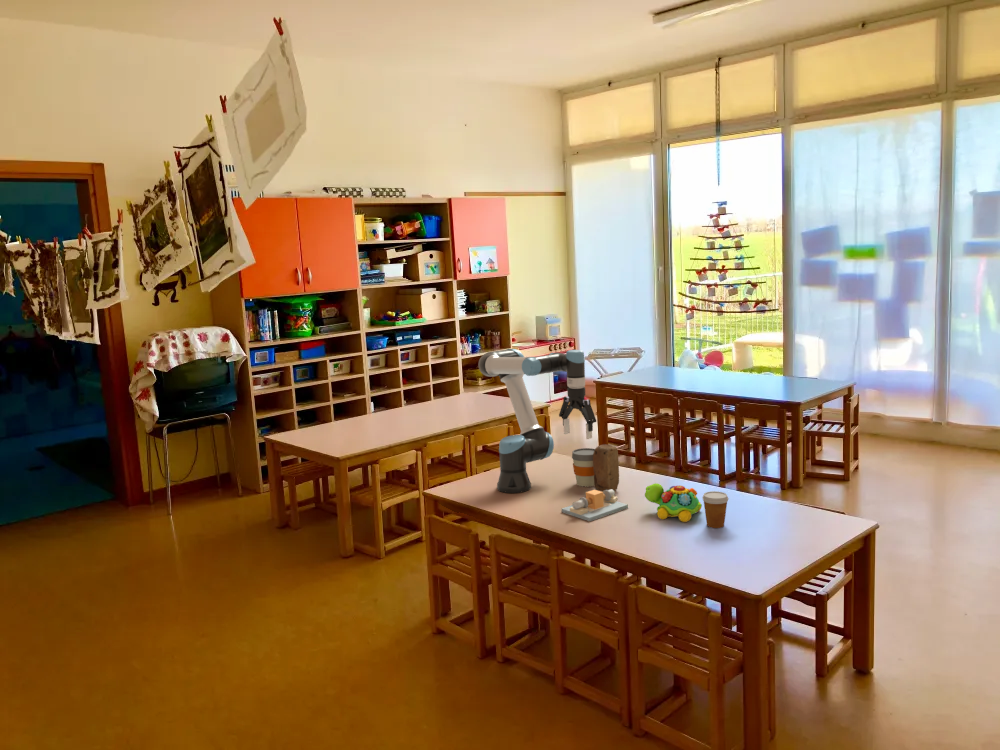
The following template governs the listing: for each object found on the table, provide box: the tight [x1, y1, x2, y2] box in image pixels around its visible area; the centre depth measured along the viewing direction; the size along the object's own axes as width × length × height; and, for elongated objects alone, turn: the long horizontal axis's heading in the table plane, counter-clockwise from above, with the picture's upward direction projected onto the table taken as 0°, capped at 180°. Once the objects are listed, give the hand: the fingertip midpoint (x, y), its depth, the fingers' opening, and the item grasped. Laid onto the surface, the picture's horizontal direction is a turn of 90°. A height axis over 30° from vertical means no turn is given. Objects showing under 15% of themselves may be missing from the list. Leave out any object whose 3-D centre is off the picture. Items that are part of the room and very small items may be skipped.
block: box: [593, 443, 620, 492], centre depth 347 cm, size 11×8×20 cm
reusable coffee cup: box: [571, 447, 595, 488], centre depth 359 cm, size 13×13×15 cm
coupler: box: [585, 489, 606, 509], centre depth 323 cm, size 5×10×6 cm, turn 129°
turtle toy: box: [644, 482, 703, 523], centre depth 314 cm, size 17×23×12 cm
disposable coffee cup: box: [702, 490, 730, 529], centre depth 300 cm, size 10×10×12 cm
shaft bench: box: [561, 489, 629, 522], centre depth 324 cm, size 16×23×7 cm
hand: (577, 436), depth 338 cm, fingers open, 13 cm apart
